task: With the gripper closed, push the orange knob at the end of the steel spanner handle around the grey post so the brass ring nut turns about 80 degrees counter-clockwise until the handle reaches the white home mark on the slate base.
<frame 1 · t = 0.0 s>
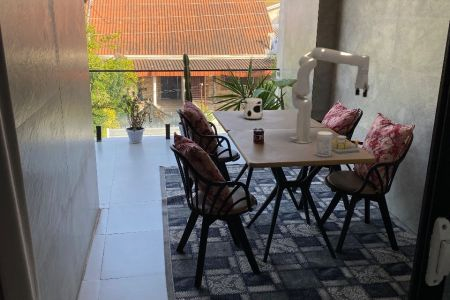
hand: (360, 96, 320), 31 cm above the table, tool pointing down, fingers open, 9 cm apart
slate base: (340, 149, 297), on the table
supplement tub: (323, 155, 283), on the table
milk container: (253, 118, 398), on the table
ring nut: (344, 143, 295), point 4 cm above the table, hinge at 0.0°
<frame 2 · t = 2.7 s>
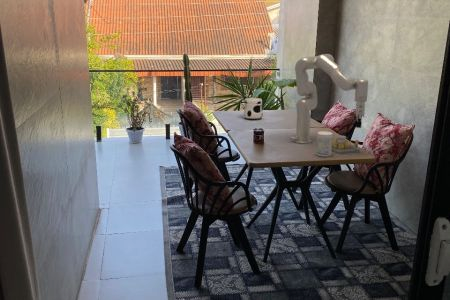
hand: (358, 126, 285), 17 cm above the table, tool pointing down, fingers open, 3 cm apart
nothing on the table moved.
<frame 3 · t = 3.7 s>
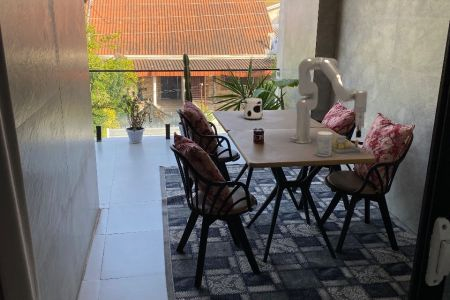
hand: (358, 137, 287), 10 cm above the table, tool pointing down, fingers closed
nothing on the table moved.
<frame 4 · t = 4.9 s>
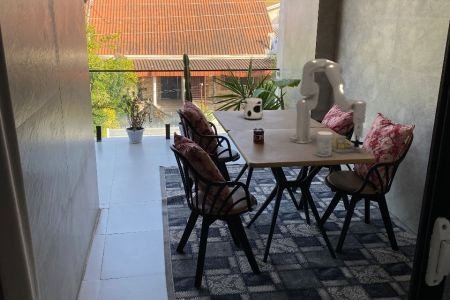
hand: (356, 146, 291), 3 cm above the table, tool pointing down, fingers closed
ring nut: (344, 143, 295), point 4 cm above the table, hinge at 0.8°, touching gripper
everything else where it was.
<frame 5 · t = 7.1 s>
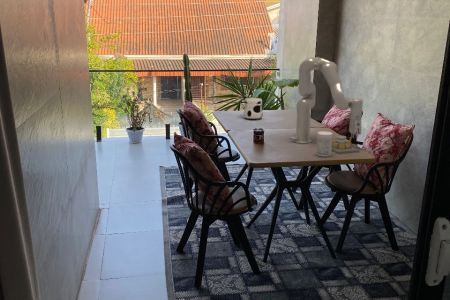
hand: (353, 143, 298), 3 cm above the table, tool pointing down, fingers closed
ring nut: (343, 142, 297), point 4 cm above the table, hinge at 49.1°, touching gripper
everything else where it was.
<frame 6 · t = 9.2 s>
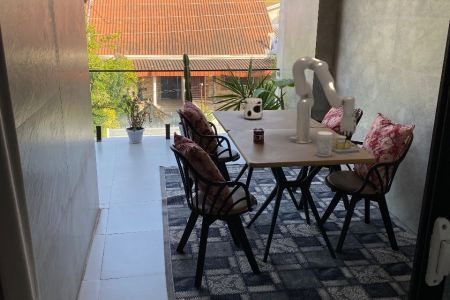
hand: (347, 140, 304), 4 cm above the table, tool pointing down, fingers closed
ring nut: (341, 142, 298), point 4 cm above the table, hinge at 85.5°, touching gripper
everything else where it was.
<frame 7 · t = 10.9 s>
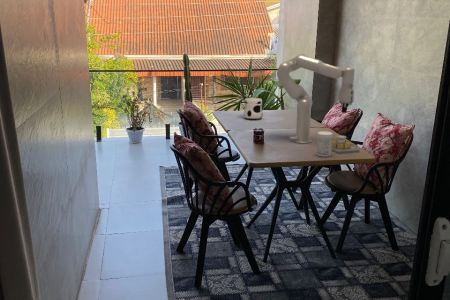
hand: (344, 112, 303), 23 cm above the table, tool pointing down, fingers closed
ring nut: (341, 142, 298), point 4 cm above the table, hinge at 85.5°
everything else where it was.
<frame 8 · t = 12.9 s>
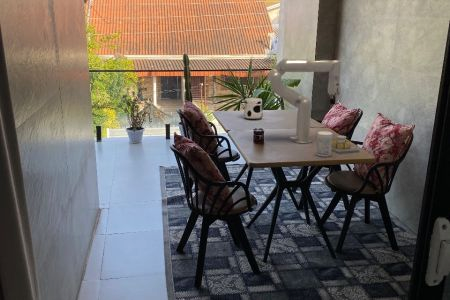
hand: (332, 104, 311), 27 cm above the table, tool pointing down, fingers closed
nothing on the table moved.
at the end: ring nut at +86° (first picture: +0°); the gripper is holding nothing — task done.
